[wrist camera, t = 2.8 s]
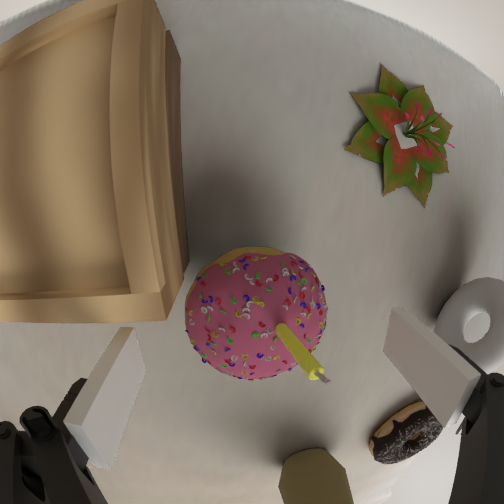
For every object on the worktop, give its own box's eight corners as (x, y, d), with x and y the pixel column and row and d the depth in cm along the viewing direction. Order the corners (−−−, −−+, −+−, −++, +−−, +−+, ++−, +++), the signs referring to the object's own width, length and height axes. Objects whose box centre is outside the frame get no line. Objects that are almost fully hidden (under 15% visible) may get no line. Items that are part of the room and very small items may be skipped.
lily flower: (368, 45, 17) (394, 24, 13) (460, 124, 19) (493, 120, 15) (314, 157, 19) (338, 151, 15) (423, 230, 21) (457, 241, 17)
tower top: (3, 291, 14) (-37, 318, 9) (-12, 99, 11) (-53, 90, 6) (184, 278, 15) (166, 320, 10) (165, 27, 12) (146, -21, 7)
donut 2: (464, 258, 22) (536, 291, 12) (475, 275, 23) (541, 308, 13) (410, 339, 23) (469, 398, 14) (425, 350, 24) (479, 404, 15)
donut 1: (413, 387, 26) (429, 408, 22) (447, 404, 28) (460, 420, 24) (350, 446, 27) (360, 468, 24) (395, 453, 30) (405, 470, 26)
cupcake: (271, 210, 19) (336, 252, 8) (324, 303, 21) (402, 405, 10) (169, 274, 20) (112, 380, 8) (233, 356, 22) (242, 481, 10)
